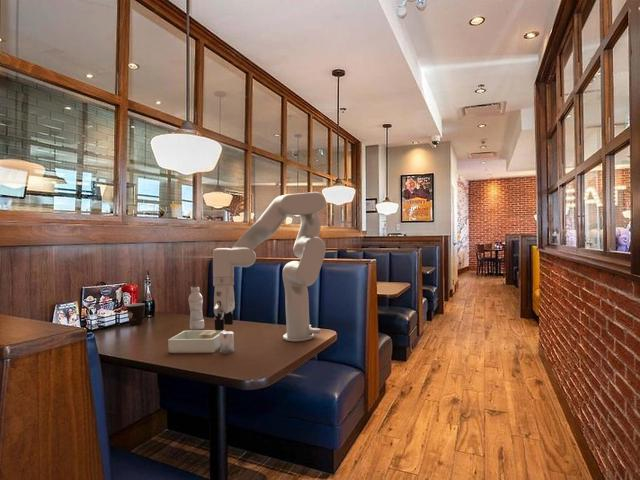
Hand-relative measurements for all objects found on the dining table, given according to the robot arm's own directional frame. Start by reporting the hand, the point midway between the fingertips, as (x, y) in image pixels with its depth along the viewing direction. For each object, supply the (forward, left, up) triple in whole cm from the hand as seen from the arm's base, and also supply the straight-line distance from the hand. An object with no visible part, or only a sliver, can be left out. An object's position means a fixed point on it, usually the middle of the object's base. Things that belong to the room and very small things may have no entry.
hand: (224, 327), depth 146 cm
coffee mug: (+62, -47, -9) cm, 78 cm away
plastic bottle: (+25, -34, -9) cm, 43 cm away
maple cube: (+9, -6, -9) cm, 14 cm away
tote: (+13, -6, -9) cm, 17 cm away
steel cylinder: (-1, -1, -9) cm, 9 cm away
